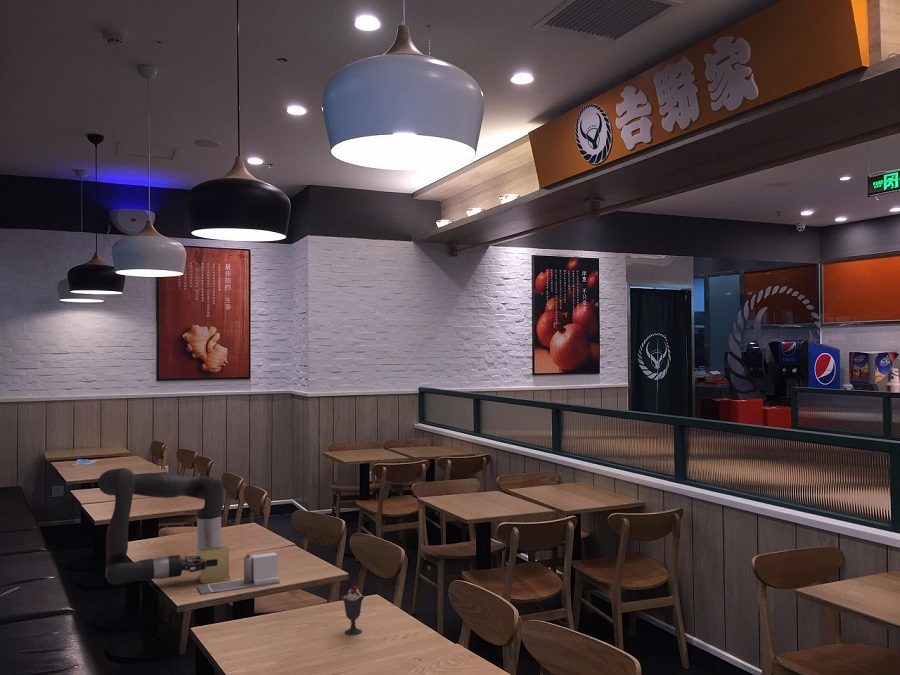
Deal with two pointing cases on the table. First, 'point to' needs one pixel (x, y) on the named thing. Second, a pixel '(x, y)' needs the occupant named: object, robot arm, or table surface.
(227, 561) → the brass leaf
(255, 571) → the hinge board
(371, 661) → the table surface
